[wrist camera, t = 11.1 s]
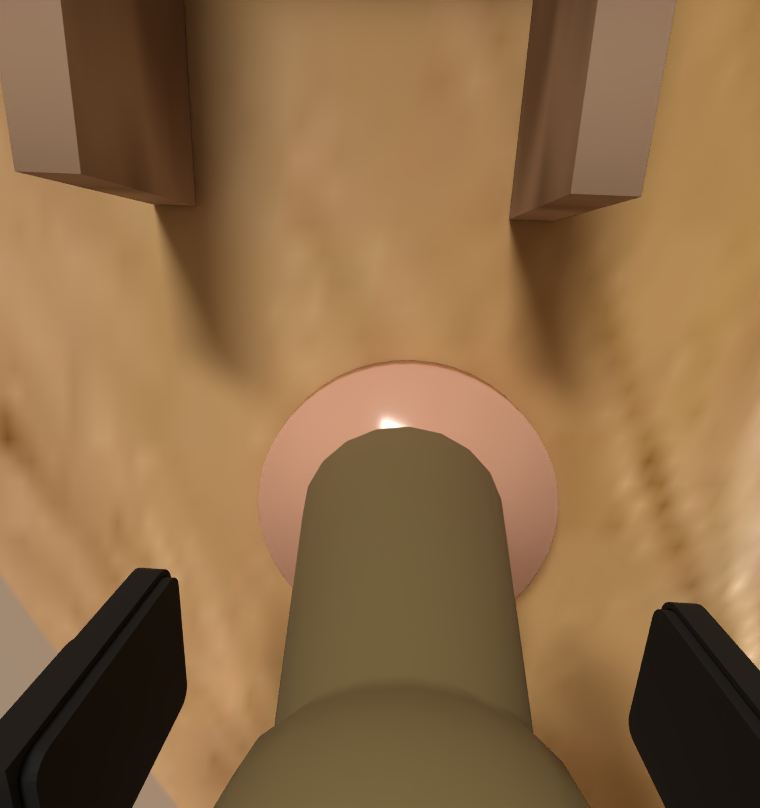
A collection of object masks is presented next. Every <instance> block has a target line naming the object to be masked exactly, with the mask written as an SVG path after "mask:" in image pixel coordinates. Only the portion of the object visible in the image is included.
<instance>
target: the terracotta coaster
mask: <svg viewBox="0 0 760 808" xmlns="http://www.w3.org/2000/svg"><path fill="white" fill-rule="evenodd" d="M398 427H413V428H418V429H423V430H427V431H432V432H436V433H441V434H443V435H445V436H447V437H448V438H450V439H452V440H454V441H455V442H457V443H459V444H461V445H462V446H464V447H466V448H468V449H469V450H470V451H471V452H472V453H473V454H474V455H475V456H476V457H477V458H478V460H479V461H480V462H481V463H482V464H483V465H484V466H485V467H486V468H487V470H488V471H489V472H490V473H491V476H492V478H493V481H494V483H495V485H496V488H497V490H498V493H499V495H500V498H501V501H502V508H503V515H504V523H505V530H506V537H507V544H508V552H509V559H510V566H511V574H512V581H513V588H514V596H515V598H516V597H517V596H518V595H519V594H520V593H521V592H522V591H523V590H524V589H525V588H526V587H527V586H528V584H529V583H530V582H531V580H532V579H533V578H534V576H535V575H536V574H537V572H538V571H539V569H540V567H541V565H542V564H543V562H544V560H545V558H546V556H547V554H548V551H549V549H550V546H551V544H552V541H553V538H554V534H555V529H556V525H557V518H558V506H559V503H558V487H557V482H556V478H555V473H554V468H553V466H552V463H551V460H550V458H549V455H548V452H547V450H546V448H545V447H544V445H543V443H542V441H541V439H540V438H539V436H538V434H537V433H536V432H535V430H534V429H533V428H532V426H531V425H530V424H529V422H528V421H527V420H526V418H525V417H524V416H523V415H522V413H521V412H520V411H519V410H518V408H517V407H516V406H515V405H514V404H513V403H512V402H511V401H510V400H508V399H507V398H506V397H505V396H504V395H503V394H502V393H500V392H499V391H498V390H496V389H495V388H494V387H492V386H491V385H490V384H488V383H486V382H485V381H483V380H481V379H479V378H477V377H476V376H474V375H472V374H469V373H467V372H464V371H462V370H459V369H457V368H454V367H450V366H446V365H442V364H438V363H434V362H425V361H416V360H401V361H389V362H382V363H375V364H371V365H368V366H364V367H361V368H357V369H354V370H352V371H350V372H347V373H345V374H343V375H340V376H338V377H336V378H335V379H333V380H331V381H330V382H328V383H326V384H325V385H323V386H322V387H320V388H319V389H318V390H317V391H315V392H314V393H313V394H311V395H310V396H309V397H308V398H307V399H306V400H305V401H304V402H303V403H302V404H301V405H300V406H299V407H298V408H297V409H296V410H295V411H294V413H293V414H292V416H291V417H290V418H289V420H288V421H287V423H286V424H285V425H284V427H283V428H282V430H281V431H280V432H279V434H278V435H277V437H276V439H275V440H274V442H273V444H272V446H271V448H270V450H269V452H268V455H267V457H266V460H265V463H264V466H263V469H262V474H261V479H260V484H259V497H258V508H259V518H260V525H261V529H262V533H263V537H264V540H265V543H266V545H267V548H268V550H269V553H270V555H271V557H272V559H273V560H274V562H275V564H276V566H277V568H278V569H279V571H280V572H281V574H282V575H283V576H284V578H285V579H286V580H287V582H288V583H289V584H290V585H291V586H292V587H293V583H294V576H295V568H296V561H297V553H298V546H299V538H300V531H301V523H302V516H303V510H304V505H305V499H306V494H307V489H308V485H309V484H310V482H311V480H312V479H313V477H314V475H315V474H316V472H317V470H318V469H319V467H320V465H321V464H322V462H323V461H324V460H325V459H326V458H327V457H328V456H330V455H331V454H332V453H333V452H334V451H336V450H337V449H338V448H339V447H340V446H342V445H343V444H344V443H345V442H346V441H349V440H351V439H354V438H356V437H358V436H361V435H363V434H366V433H368V432H371V431H373V430H376V429H386V428H398Z"/></svg>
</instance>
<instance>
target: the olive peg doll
mask: <svg viewBox="0 0 760 808" xmlns="http://www.w3.org/2000/svg"><path fill="white" fill-rule="evenodd" d="M214 808H590V806H589V805H588V803H587V801H586V800H585V798H584V797H583V795H582V793H581V792H580V790H579V788H578V787H577V785H576V783H575V782H574V780H573V778H572V777H571V775H570V774H569V772H568V770H567V769H566V767H565V765H564V764H563V762H562V761H561V760H560V759H559V758H558V757H557V756H556V755H555V754H554V753H553V752H552V751H551V750H550V749H549V748H547V747H546V746H545V745H544V744H543V743H542V742H541V741H540V740H539V739H538V738H537V737H536V736H535V735H534V734H533V728H532V720H531V713H530V706H529V698H528V691H527V684H526V676H525V669H524V662H523V654H522V647H521V640H520V632H519V625H518V618H517V610H516V603H515V596H514V588H513V581H512V574H511V566H510V559H509V552H508V544H507V537H506V530H505V523H504V515H503V508H502V501H501V498H500V495H499V493H498V490H497V488H496V485H495V483H494V481H493V478H492V476H491V473H490V472H489V471H488V470H487V468H486V467H485V466H484V465H483V464H482V463H481V462H480V461H479V460H478V458H477V457H476V456H475V455H474V454H473V453H472V452H471V451H470V450H469V449H468V448H466V447H464V446H462V445H461V444H459V443H457V442H455V441H454V440H452V439H450V438H448V437H447V436H445V435H443V434H441V433H436V432H432V431H427V430H423V429H418V428H413V427H398V428H386V429H376V430H373V431H371V432H368V433H366V434H363V435H361V436H358V437H356V438H354V439H351V440H349V441H346V442H345V443H344V444H343V445H342V446H340V447H339V448H338V449H337V450H336V451H334V452H333V453H332V454H331V455H330V456H328V457H327V458H326V459H325V460H324V461H323V462H322V464H321V465H320V467H319V469H318V470H317V472H316V474H315V475H314V477H313V479H312V480H311V482H310V484H309V485H308V489H307V494H306V499H305V505H304V510H303V516H302V523H301V531H300V538H299V546H298V553H297V561H296V568H295V576H294V583H293V591H292V598H291V606H290V613H289V621H288V628H287V636H286V643H285V651H284V658H283V666H282V673H281V681H280V688H279V696H278V703H277V711H276V718H275V726H274V727H273V728H271V729H270V730H268V731H267V732H266V733H264V734H263V735H261V736H260V737H259V738H258V739H257V741H256V742H255V744H254V745H253V747H252V748H251V750H250V751H249V753H248V754H247V756H246V757H245V759H244V760H243V762H242V763H241V764H240V766H239V767H238V769H237V770H236V772H235V773H234V775H233V777H232V778H231V780H230V781H229V783H228V785H227V786H226V788H225V790H224V791H223V793H222V795H221V796H220V798H219V800H218V801H217V803H216V804H215V806H214Z"/></svg>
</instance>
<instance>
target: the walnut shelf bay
mask: <svg viewBox="0 0 760 808" xmlns="http://www.w3.org/2000/svg"><path fill="white" fill-rule="evenodd" d="M675 5H676V0H533V7H532V16H531V25H530V34H529V43H528V52H527V62H526V71H525V80H524V89H523V98H522V107H521V116H520V125H519V134H518V143H517V152H516V161H515V171H514V180H513V189H512V198H511V207H510V216H509V219H517V220H540V221H556V220H559V219H563V218H567V217H570V216H574V215H577V214H581V213H584V212H588V211H592V210H595V209H599V208H602V207H606V206H609V205H613V204H617V203H620V202H624V201H627V200H631V199H634V198H638V197H641V195H642V190H643V184H644V179H645V173H646V167H647V162H648V156H649V151H650V145H651V139H652V134H653V128H654V123H655V117H656V111H657V106H658V100H659V95H660V89H661V83H662V78H663V72H664V67H665V61H666V55H667V50H668V44H669V39H670V33H671V28H672V22H673V16H674V11H675ZM0 77H1V84H2V90H3V97H4V103H5V110H6V116H7V123H8V130H9V136H10V143H11V149H12V156H13V163H14V169H15V171H16V172H20V173H24V174H28V175H33V176H37V177H41V178H45V179H49V180H54V181H58V182H62V183H66V184H70V185H74V186H79V187H83V188H87V189H91V190H95V191H100V192H104V193H108V194H112V195H116V196H121V197H125V198H129V199H133V200H137V201H142V202H146V203H150V204H160V205H184V206H196V204H195V186H194V169H193V152H192V135H191V118H190V100H189V83H188V66H187V49H186V31H185V14H184V0H0Z"/></svg>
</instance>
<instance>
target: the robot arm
mask: <svg viewBox="0 0 760 808" xmlns="http://www.w3.org/2000/svg"><path fill="white" fill-rule="evenodd" d="M186 691H187V679H186V667H185V655H184V643H183V631H182V619H181V607H180V596H179V584H178V580H177V579H176V578H171V576H170V573H169V571H168V570H166V569H151V568H137V569H135V570H134V571H133V572H132V573H131V574H130V575H129V577H128V578H127V579H126V580H125V581H124V582H123V583H122V585H121V586H120V587H119V588H118V589H117V590H116V591H115V593H114V594H113V595H112V596H111V597H110V598H109V599H108V601H107V602H106V603H105V604H104V605H103V606H102V607H101V609H100V610H99V611H98V612H97V613H96V614H95V615H94V617H93V618H92V619H91V620H90V621H89V622H88V623H87V625H86V626H85V627H84V628H83V629H82V630H81V631H80V633H79V634H78V635H77V636H76V637H75V638H74V639H73V640H71V641H70V642H69V643H68V644H67V645H66V646H65V647H64V648H63V649H62V650H61V651H60V652H59V653H58V655H57V656H56V657H55V658H54V659H53V660H52V661H51V663H50V664H49V665H48V666H47V667H46V668H45V670H43V672H42V673H41V674H40V675H39V676H38V677H37V678H36V680H35V681H34V682H33V683H32V684H31V685H30V687H29V688H28V689H27V690H26V691H25V692H24V693H23V695H21V697H20V698H19V699H18V700H17V701H16V702H15V703H14V705H13V706H12V707H11V708H10V709H9V710H8V711H7V712H6V714H5V715H4V716H3V717H2V718H1V719H0V808H132V807H133V805H134V803H135V801H136V799H137V797H138V794H139V792H140V791H141V789H142V787H143V785H144V783H145V781H146V778H147V777H148V775H149V772H150V770H151V768H152V766H153V764H154V762H155V760H156V758H157V756H158V754H159V752H160V750H161V748H162V746H163V744H164V742H165V740H166V738H167V736H168V734H169V732H170V730H171V728H172V726H173V724H174V722H175V720H176V718H177V716H178V714H179V712H180V710H181V708H182V706H183V703H184V700H185V696H186ZM629 729H630V733H631V737H632V739H633V742H634V744H635V746H636V748H637V750H638V752H639V754H640V756H641V758H642V760H643V762H644V764H645V766H646V768H647V770H648V773H649V775H650V777H651V779H652V781H653V783H654V785H655V787H656V789H657V791H658V793H659V795H660V797H661V799H662V801H663V803H664V806H665V808H760V670H759V669H758V668H757V667H756V666H755V665H754V664H753V663H752V661H751V660H750V659H749V658H748V657H747V656H746V655H745V653H744V652H743V651H742V650H741V649H740V648H739V647H738V645H737V644H736V643H735V642H734V641H733V640H732V639H731V637H730V636H729V635H728V634H727V633H726V632H725V631H724V630H723V628H722V627H721V626H720V625H719V624H718V623H717V622H716V620H715V619H714V618H713V617H712V616H711V615H710V614H709V612H708V611H707V610H706V609H705V608H704V607H703V606H701V605H699V604H692V603H676V602H667V603H665V604H664V605H663V606H662V609H658V610H656V611H655V612H654V614H653V617H652V621H651V626H650V630H649V634H648V638H647V642H646V647H645V651H644V655H643V659H642V663H641V668H640V672H639V676H638V680H637V684H636V689H635V693H634V697H633V701H632V705H631V710H630V714H629Z"/></svg>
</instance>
